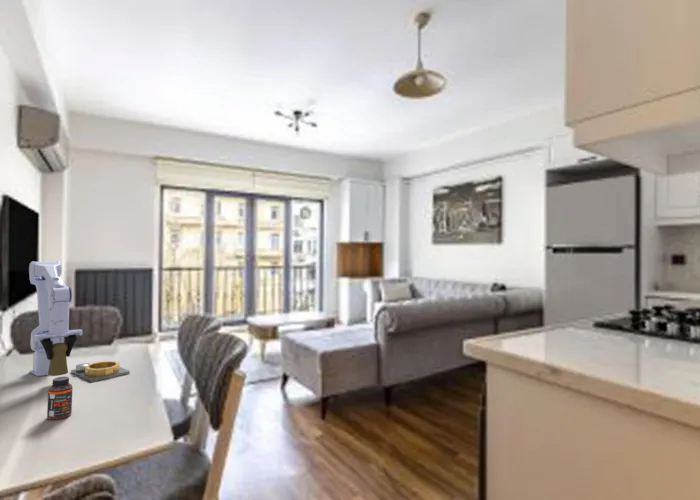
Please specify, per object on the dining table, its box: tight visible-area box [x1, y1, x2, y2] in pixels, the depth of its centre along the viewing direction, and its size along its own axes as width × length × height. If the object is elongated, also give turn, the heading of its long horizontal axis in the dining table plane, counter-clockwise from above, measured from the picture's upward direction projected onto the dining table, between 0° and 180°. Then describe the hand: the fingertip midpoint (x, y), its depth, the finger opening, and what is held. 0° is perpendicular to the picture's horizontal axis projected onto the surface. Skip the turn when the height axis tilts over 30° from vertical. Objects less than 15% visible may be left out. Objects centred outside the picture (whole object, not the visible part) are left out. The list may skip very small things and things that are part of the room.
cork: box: [47, 342, 69, 377], centre depth 147 cm, size 6×6×11 cm
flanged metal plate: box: [70, 360, 131, 383], centre depth 160 cm, size 18×14×4 cm
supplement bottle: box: [46, 375, 73, 420], centre depth 120 cm, size 6×6×11 cm
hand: (58, 357), depth 147 cm, fingers closed on cork, 5 cm apart
